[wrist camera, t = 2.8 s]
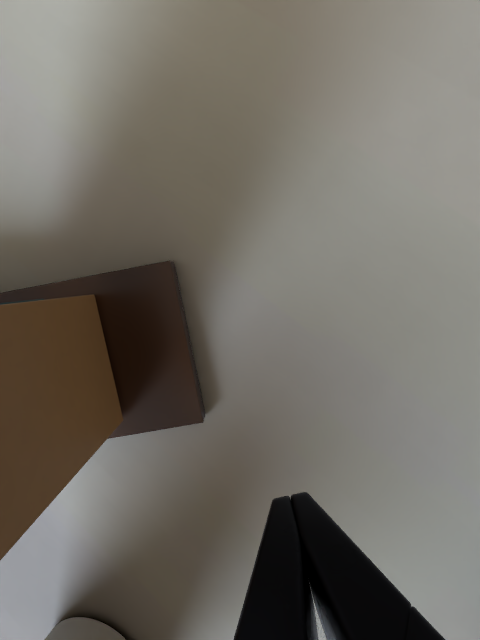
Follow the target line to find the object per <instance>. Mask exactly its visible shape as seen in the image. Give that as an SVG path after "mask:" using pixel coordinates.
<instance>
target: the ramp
mask: <svg viewBox="0 0 480 640" xmlns="http://www.w3.org/2000/svg"><path fill="white" fill-rule="evenodd" d="M93 294H94V295H95V300H96V304H97V308H98V313H99V317H100V321H101V326H102V330H103V334H104V338H105V343H106V347H107V351H108V356H109V360H110V364H111V369H112V373H113V377H114V382H115V386H116V390H117V395H118V399H119V403H120V408H121V412H122V416H123V421H122V422H121V424H120V425H119V426H118V427H117V428H116V429H115V430H114V432H113V433H112V434H111V435H110V436H109V437H108V438H114V437H120V436H126V435H132V434H138V433H144V432H150V431H156V430H161V429H167V428H173V427H179V426H185V425H191V424H197V423H203V421H204V418H205V411H204V406H203V401H202V396H201V391H200V387H199V382H198V377H197V372H196V367H195V362H194V357H193V352H192V347H191V342H190V338H189V333H188V328H187V323H186V318H185V313H184V308H183V303H182V298H181V294H180V289H179V284H178V279H177V274H176V269H175V264H174V262H173V261H165V262H160V263H155V264H150V265H145V266H139V267H134V268H129V269H124V270H118V271H113V272H108V273H103V274H98V275H92V276H87V277H82V278H77V279H71V280H66V281H61V282H56V283H51V284H45V285H40V286H35V287H30V288H24V289H19V290H14V291H9V292H4V293H0V303H7V302H17V301H26V300H36V299H44V300H47V299H56V298H65V297H74V296H83V295H93ZM108 438H107V439H108Z"/></svg>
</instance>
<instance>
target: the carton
mask: <svg viewBox="0 0 480 640" xmlns="http://www.w3.org/2000/svg"><path fill="white" fill-rule="evenodd" d="M122 421H123V416H122V412H121V408H120V403H119V399H118V395H117V390H116V386H115V382H114V377H113V373H112V369H111V364H110V360H109V356H108V351H107V347H106V343H105V338H104V334H103V330H102V326H101V321H100V317H99V313H98V308H97V304H96V300H95V295H94V294H93V295H83V296H74V297H65V298H56V299H47V300H44V299H36V300H26V301H17V302H7V303H0V560H1V559H2V558H3V557H4V556H5V555H6V553H7V552H8V551H9V550H10V549H11V548H12V547H13V545H14V544H15V543H16V542H17V541H18V540H19V539H20V537H21V536H22V535H23V534H24V533H25V532H26V531H27V529H28V528H29V527H30V526H31V525H32V524H33V523H34V522H35V520H36V519H37V518H38V517H39V516H40V515H41V514H42V512H43V511H44V510H45V509H46V508H47V507H48V506H49V504H50V503H51V502H52V501H53V500H54V499H55V498H56V496H57V495H58V494H59V493H60V492H61V491H62V490H63V488H64V487H65V486H66V485H67V484H68V483H69V482H70V481H71V479H72V478H73V477H74V476H75V475H76V474H77V473H78V471H79V470H80V469H81V468H82V467H83V466H84V465H85V463H86V462H87V461H88V460H89V459H90V458H91V457H92V455H93V454H94V453H95V452H96V451H97V450H98V449H99V448H100V446H101V445H102V444H103V443H104V442H105V441H106V440H107V438H108V437H109V436H110V435H111V434H112V433H113V432H114V430H115V429H116V428H117V427H118V426H119V425H120V424H121V422H122Z"/></svg>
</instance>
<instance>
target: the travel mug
mask: <svg viewBox="0 0 480 640" xmlns="http://www.w3.org/2000/svg"><path fill="white" fill-rule="evenodd" d="M45 640H126V639H125V638H124V637H123V636H122V635H121V634H119V633H118V632H117V631H116V630H114V629H113V628H111V627H109V626H108V625H106V624H104V623H102V622H99V621H97V620H94V619H90V618H83V617H74V618H69V619H66V620H63V621H61V622H60V623H58V624H57V625H56V626H55V627H54V628H53V629H52V631H51V632H50V633H49V635H48V636H47V637H46V639H45Z"/></svg>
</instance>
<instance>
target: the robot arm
mask: <svg viewBox="0 0 480 640" xmlns="http://www.w3.org/2000/svg"><path fill="white" fill-rule="evenodd" d="M309 583H310V584H309ZM310 587H311V588H310ZM311 591H312V593H311ZM312 595H313V598H312ZM313 599H314V603H315V606H316V609H317V612H318V615H319V618H320V621H321V624H322V627H323V630H324V633H325V635H326V638H327V640H445V639H444V638H443V637H442V636H441V635H440V634H439V633H438V632H437V631H436V630H435V629H434V628H433V627H432V625H431V624H430V623H429V622H428V621H427V620H426V619H425V618H424V617H423V616H422V615H421V614H420V613H419V612H418V611H417V609H416V608H415V607H411V604H410V602H409V601H408V600H407V599H406V598H405V597H404V596H403V595H402V594H401V593H400V591H399V590H398V589H397V588H396V587H395V586H394V585H393V584H392V583H391V582H390V581H389V580H388V579H387V578H386V576H385V575H384V574H383V573H382V572H381V571H380V570H379V569H378V568H377V567H376V566H375V565H374V564H373V563H372V561H371V560H370V559H369V558H368V557H367V556H366V555H365V554H364V553H363V552H362V551H361V550H360V549H359V547H358V546H357V545H356V544H355V543H354V542H353V541H352V540H351V539H350V538H349V537H348V536H347V535H346V534H345V532H344V531H343V530H342V529H341V528H340V527H339V526H338V525H337V524H336V523H335V522H334V521H333V520H332V519H331V517H330V516H329V515H328V514H327V513H326V512H325V511H324V510H323V509H322V508H321V507H320V506H319V505H318V503H317V502H316V501H315V500H314V499H313V498H312V497H311V496H310V495H309V494H308V493H306V492H303V493H298V494H293V495H291V499H290V497H289V496H284V497H279V498H275V499H273V501H272V504H271V507H270V511H269V515H268V518H267V522H266V525H265V529H264V532H263V536H262V540H261V543H260V547H259V550H258V554H257V558H256V561H255V565H254V568H253V572H252V575H251V579H250V583H249V586H248V590H247V593H246V597H245V601H244V604H243V608H242V611H241V615H240V618H239V622H238V626H237V629H236V633H235V636H234V640H318V633H317V625H316V617H315V610H314V603H313Z"/></svg>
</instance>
